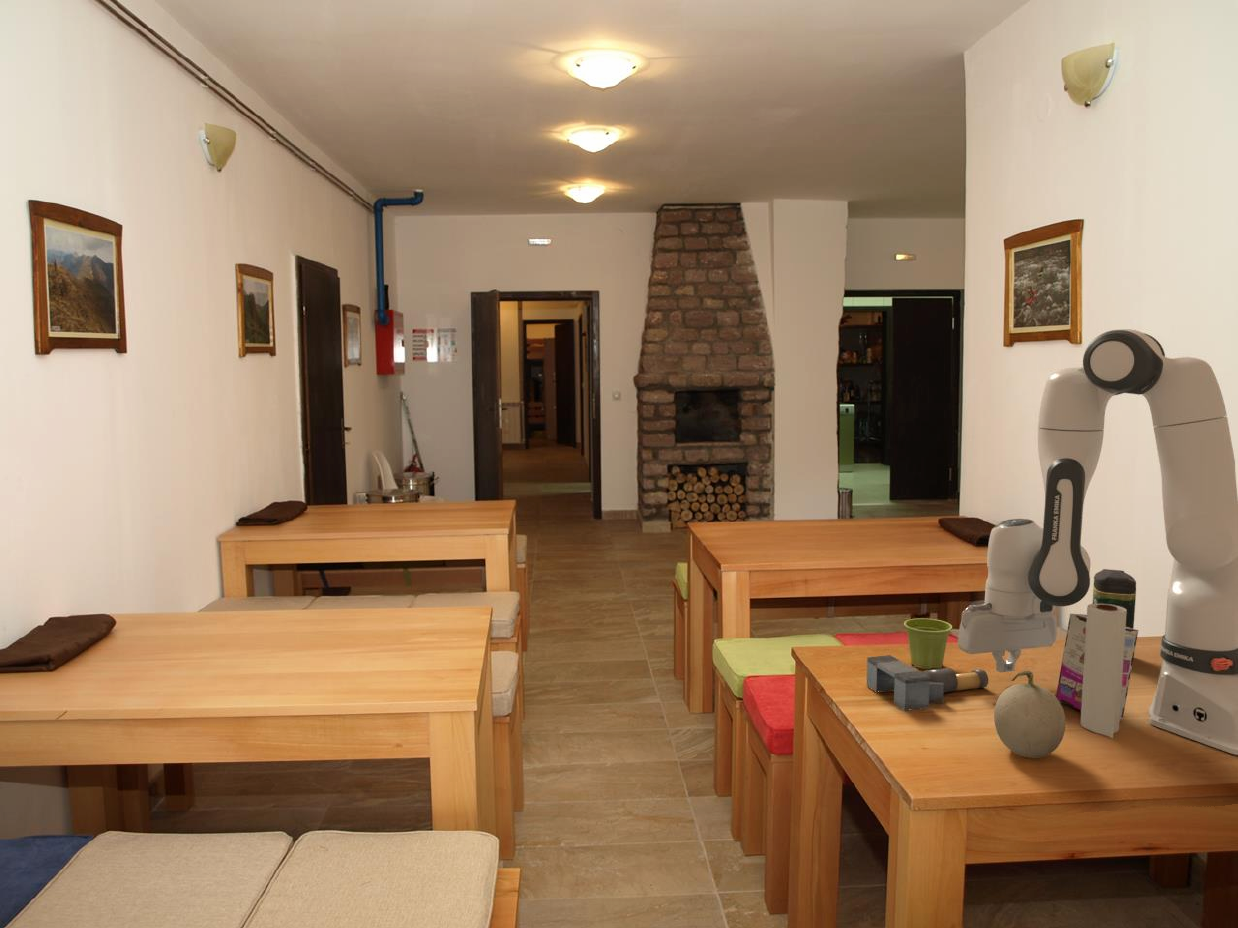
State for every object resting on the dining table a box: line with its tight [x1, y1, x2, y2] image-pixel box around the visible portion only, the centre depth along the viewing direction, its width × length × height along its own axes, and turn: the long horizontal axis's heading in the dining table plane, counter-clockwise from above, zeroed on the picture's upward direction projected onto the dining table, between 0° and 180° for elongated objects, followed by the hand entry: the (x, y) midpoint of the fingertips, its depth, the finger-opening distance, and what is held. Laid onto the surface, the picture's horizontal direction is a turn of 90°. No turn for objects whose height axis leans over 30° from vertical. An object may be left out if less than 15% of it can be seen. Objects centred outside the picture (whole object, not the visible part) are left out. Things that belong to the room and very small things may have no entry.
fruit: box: [993, 670, 1067, 759], centre depth 154 cm, size 10×12×15 cm
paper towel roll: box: [1080, 603, 1127, 739], centre depth 164 cm, size 7×6×21 cm
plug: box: [922, 667, 989, 694], centre depth 183 cm, size 12×4×4 cm, turn 107°
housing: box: [866, 654, 944, 711], centre depth 180 cm, size 13×9×6 cm
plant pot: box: [903, 617, 953, 670], centre depth 197 cm, size 9×9×9 cm
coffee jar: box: [1091, 568, 1137, 629], centre depth 201 cm, size 10×8×19 cm
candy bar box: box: [1055, 613, 1139, 721], centre depth 172 cm, size 11×5×16 cm, turn 20°
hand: (1005, 670), depth 187 cm, fingers closed
